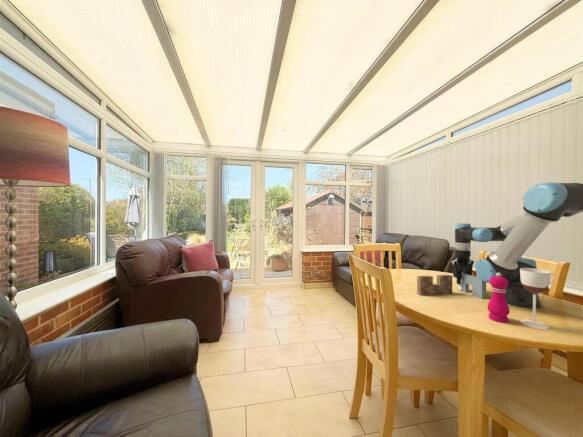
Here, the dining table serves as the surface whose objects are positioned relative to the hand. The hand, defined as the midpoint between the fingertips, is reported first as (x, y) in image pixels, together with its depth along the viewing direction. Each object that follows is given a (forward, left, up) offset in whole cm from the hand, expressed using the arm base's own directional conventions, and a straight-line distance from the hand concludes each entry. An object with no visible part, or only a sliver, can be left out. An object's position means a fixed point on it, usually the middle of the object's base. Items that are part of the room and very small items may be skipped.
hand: (462, 289), depth 141 cm
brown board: (-3, +20, -1) cm, 20 cm away
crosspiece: (-6, 0, -1) cm, 6 cm away
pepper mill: (-37, +18, -1) cm, 41 cm away
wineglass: (-43, +8, -1) cm, 43 cm away
